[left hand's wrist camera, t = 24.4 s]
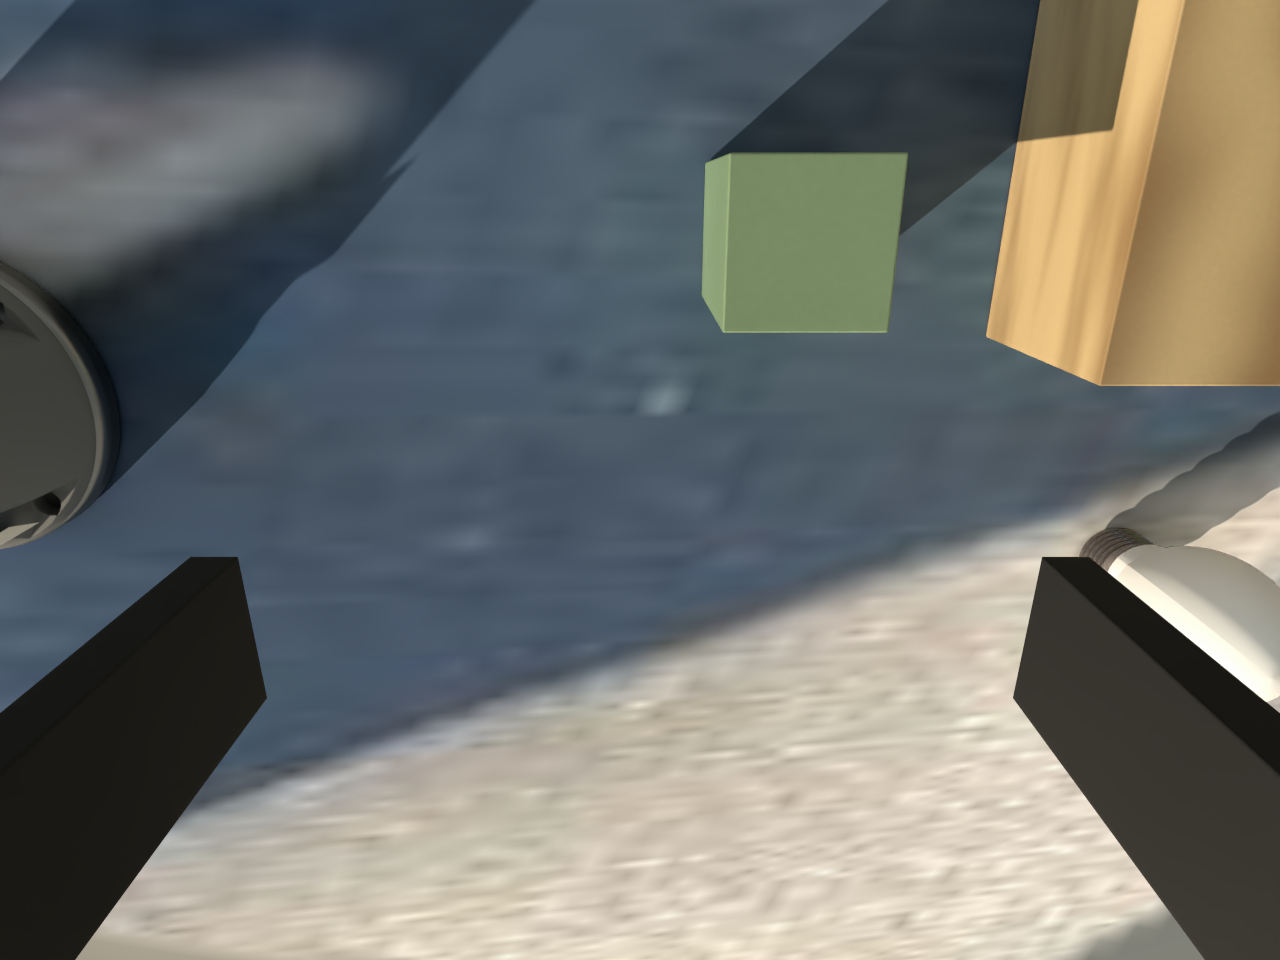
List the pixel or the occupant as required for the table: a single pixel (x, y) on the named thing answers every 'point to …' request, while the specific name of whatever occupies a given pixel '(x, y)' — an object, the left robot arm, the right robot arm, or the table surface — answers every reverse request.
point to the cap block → (802, 240)
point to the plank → (1147, 195)
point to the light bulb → (1202, 601)
